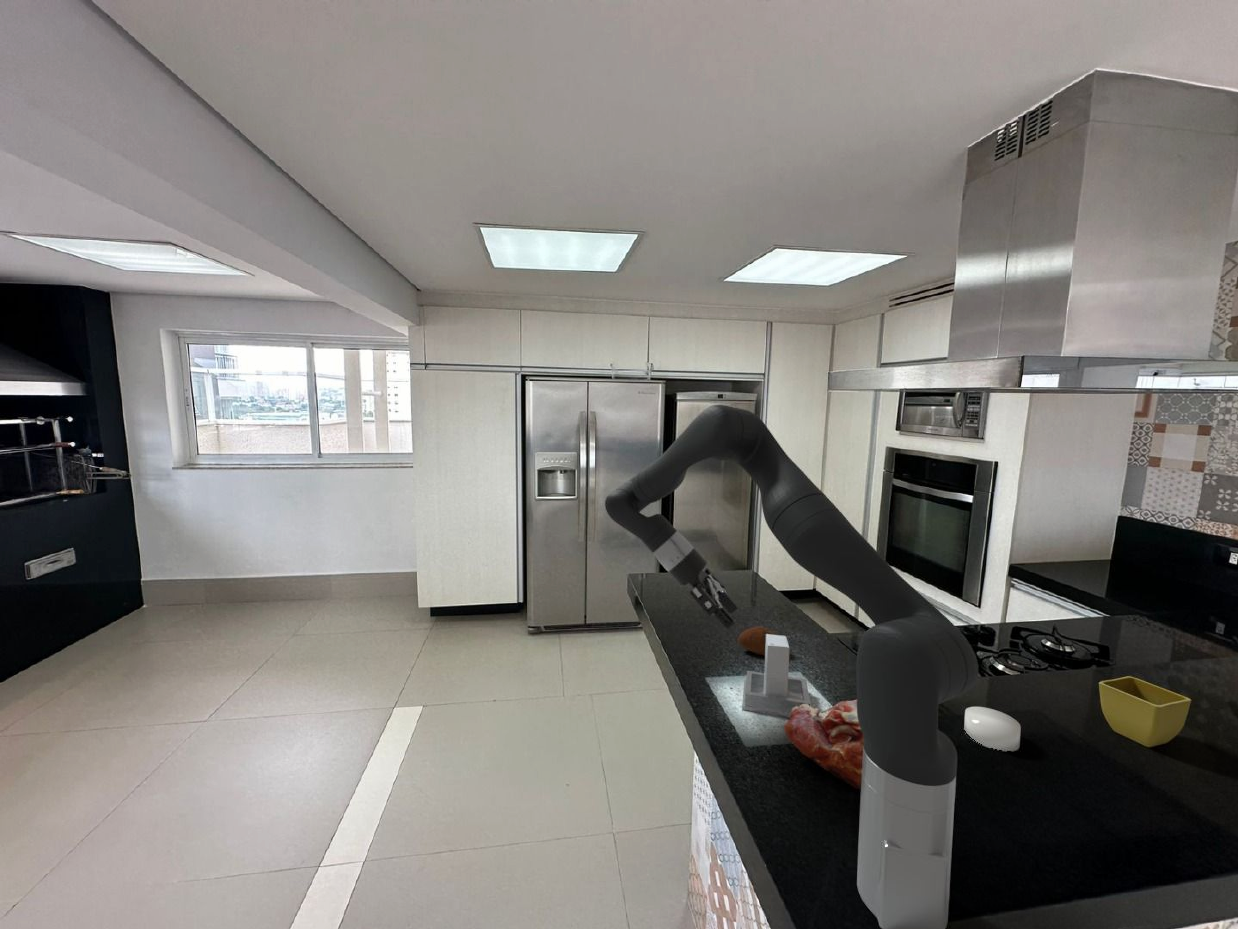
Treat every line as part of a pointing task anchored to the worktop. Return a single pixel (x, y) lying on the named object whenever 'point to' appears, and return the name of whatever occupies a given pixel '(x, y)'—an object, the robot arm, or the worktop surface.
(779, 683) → the skincare box
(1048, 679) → the worktop surface
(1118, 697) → the flower pot
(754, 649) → the potato
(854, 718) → the meat
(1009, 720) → the white domed puck
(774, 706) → the tray
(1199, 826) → the worktop surface
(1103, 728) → the worktop surface
